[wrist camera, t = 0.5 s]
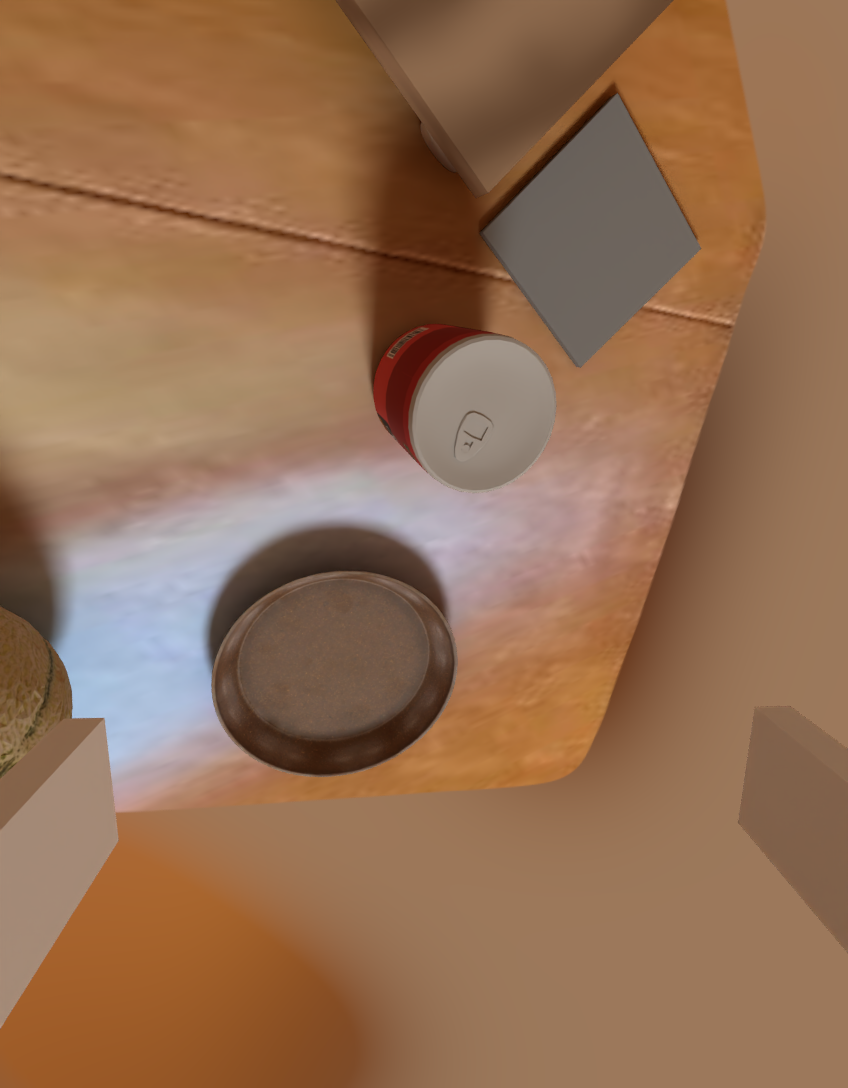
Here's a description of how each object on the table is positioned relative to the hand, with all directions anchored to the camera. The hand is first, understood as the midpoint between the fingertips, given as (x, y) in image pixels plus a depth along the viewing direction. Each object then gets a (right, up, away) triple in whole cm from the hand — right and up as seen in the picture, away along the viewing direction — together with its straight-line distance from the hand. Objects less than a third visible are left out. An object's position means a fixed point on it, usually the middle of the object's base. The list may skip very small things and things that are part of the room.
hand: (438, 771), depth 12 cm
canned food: (0, +15, +27) cm, 31 cm away
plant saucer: (-7, -4, +34) cm, 35 cm away
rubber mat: (+11, +24, +26) cm, 37 cm away
